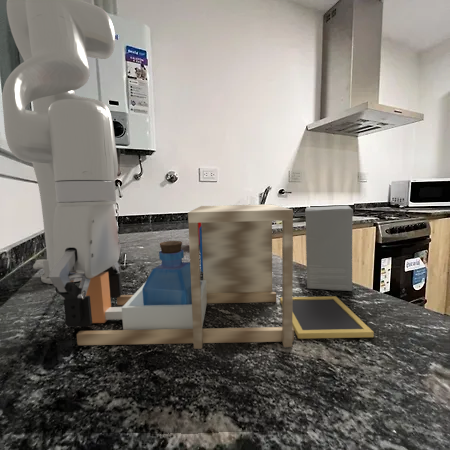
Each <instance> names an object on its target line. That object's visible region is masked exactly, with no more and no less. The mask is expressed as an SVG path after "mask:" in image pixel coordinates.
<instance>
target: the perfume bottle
mask: <svg viewBox="0 0 450 450" xmlns="http://www.w3.org/2000/svg"><path fill="white" fill-rule="evenodd" d="M159 246H160V249H161V250H160V251H159V252H158V253H159V254H158V256H159V257H158V258H159V260H160V261H161V263H160V264H159V265H158V266H157V265H156V266H155V267H154V268H152V270H151V272H150V273H149V276H148V277H147V279H146V281H145V282H146V283H145V282H144V283H145V285H144V287H143V304H144V305H191V304H192V295H191V271H190V261H189V262H188V261H183V258H184V255H185V254H184V249H182V246H183V242H182V241H180V240H169V241H161V242H160V243H159Z"/></svg>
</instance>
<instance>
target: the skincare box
mask: <svg viewBox="0 0 450 450" xmlns="http://www.w3.org/2000/svg"><path fill="white" fill-rule="evenodd" d="M353 215H354V209H353V208H351V206H349V205H336V206H335V205H334V206H333V205H332V206H311V207H310V206H307V207H306V208H305V251H306V255H305V256H306V259H305V261H306V288H307V289H309V290H310V289H311V290H312V289H313V290H327V291H328V290H329V291H330V290H332V291H346V292H347V291H348V292H351V291H352V290H353V218H354V216H353ZM352 292H353V291H352Z"/></svg>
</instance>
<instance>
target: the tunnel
mask: <svg viewBox="0 0 450 450" xmlns="http://www.w3.org/2000/svg"><path fill="white" fill-rule="evenodd" d="M187 218H188V244H189V245H188V246H189V262H190V271H191V295H192V318H193V341H194V343H193V349H195V350H198V349H203V345H204V343H203V337H202V329H203V327H202V311H201V285H200V280H201V261H200V245H199V233H198V223H201V227H202V255H203V272H202V274H203V275H202V277H203V278H202V280H206V289H207V293H243V292H273V222H275V221H276V222H278V221H279V222H280V221H282V222H281V223H282V227H281V228H282V231H281V232H282V238H281V239H282V244H281V245H282V251H281V252H282V256H281V257H282V262H281V263H282V264H281V265H282V266H281V268H282V271H281V272H282V275H281V276H282V279H281V281H282V284H281V285H282V289H281V290H282V291H281V293H282V294H281V295H282V296H281V297H282V304H281V306H282V307H281V309H282V310H281V312H282V313H281V314H282V315H281V316H282V317H281V319H282V323H281V324H282V326H281V327H282V343H281V344H282V346H283V348H293V341H292V311H293V297H294V296H293V294H294V293H293V292H294V290H293V289H294V288H293V284H294V282H293V280H294V279H293V278H294V269H293V268H294V263H293V262H294V259H293V258H294V209H291V208H288V207H284V206H280V205H276V204H271V203H269V204H268V203H267V204H265V203H263V204H233V205H232V204H229V205H227V204H226V205H201V206H198V207H196V208H193V209H192V210H190V211H189V212H187Z"/></svg>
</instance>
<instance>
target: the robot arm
mask: <svg viewBox="0 0 450 450" xmlns="http://www.w3.org/2000/svg"><path fill="white" fill-rule="evenodd" d="M6 14H7V20H8V25H9V28H10V32H11V35H12V37H13V40H14V44H15V45H16V47H17V50H18V52H19V55H21V58H22V59H23V62H21V63H20V64H18V65H17V66H16V67H15V68H14V69H13V70H12V71H11V73H10V74H9V75H8V77H7V78H6V80H5V82H4V84H3V89H2V94H1V95H2V96H1V97H2V98H1V101H2V102H1V103H2V112H3V125H4V134H5V135H4V136H5V139H6V144H7V146H8V149H9V150H10V152H11V153H12V155H14V157H16V158H17V159H19V160H21V161H23V162H27V163H32V167H33V169H34V170H33V171H34V174H35V177H36V182H37V186H38V192H39V198H40V202H41V203H40V204H41V212H42V213H41V214H42V222H43V231H44V238H45V239H44V240H45V248H46V249H45V250H46V259H36V260H35V261H34V262H35V263H34V264H33V265H32V269H33V270H43V273H42V274H41V277H40V280H41V282H42V283H44V284H49V285H50V284H51V285H53V286H54V289H55V292H56V293H57V294H58V295H59V298H60V299H61V300H63V306H64V315H65V316H64V317H65V325H66V326H67V328H68V327H69V328H73V327H74V328H75V327H76V328H77V327H78V328H79V327H81V328H82V327H90V326H91V325H92V324H93V323H92V314H91V303H90V296H86V294H87V290H88V286H89V283H90V279H91V278H94V277H95V276H97V275H99V274H100V273H102V272H108V275H109V287H110V299H112V298H114V299H117V298H118V297H120V296H121V295H122V285H121V283H122V281H121V270H122V269H121V265H120V261H121V255H120V254H121V247H122V246H121V243H120V240H119V233H118V232H119V231H118V223H117V218H116V213H115V208H114V207H115V206H114V205H117V196H116V195H117V192H116V179H117V176H118V173H119V163H118V162H119V161H118V153H117V152H118V151H117V146H116V144H117V143H116V137H115V129H114V122H113V117H112V113H111V111H110V108H109V107H108V105H107V104H106V103H104V102H103V101H101V100H100V99H99V100H98V99H95V98H91V97H90V98H89V97H84V96H80V95H77V94H76V91H75V90H78V89H80V88H82V87H84V86H86V84H87V83H88V81H89V79H90V74H91V73H90V66H89V61H88V58H91V59H97V60H99V59H100V60H106V59H108V58H110V57H112V55H113V53H114V50H115V45H116V33H115V32H116V31H115V27H114V25H113V22H112V18H111V17H110V16H109V14H108V12H106V10H104V8H102V7H100V6H98V5H96V4H93V3H90V2H87V1H85V0H6ZM31 102H32V107H33V110H30V109H29V110H28V109H26V107H27V106H28V105H29V104H30V103H31ZM80 281H81V283H79V286H78V285H76V284H75V283H76V282H80Z"/></svg>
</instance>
